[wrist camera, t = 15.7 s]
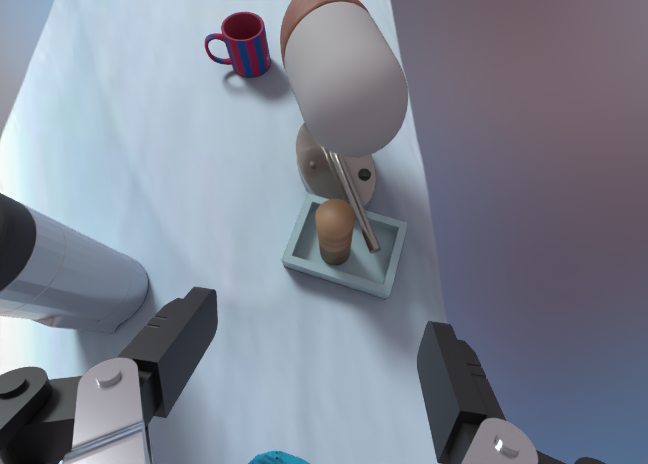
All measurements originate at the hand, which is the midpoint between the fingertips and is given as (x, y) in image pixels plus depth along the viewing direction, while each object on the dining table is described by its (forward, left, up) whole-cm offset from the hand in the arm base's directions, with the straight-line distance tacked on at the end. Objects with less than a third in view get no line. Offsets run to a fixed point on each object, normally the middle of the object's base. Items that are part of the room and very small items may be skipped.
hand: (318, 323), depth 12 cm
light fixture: (+26, +7, -29) cm, 40 cm away
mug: (+40, +28, -29) cm, 56 cm away
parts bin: (+13, +1, -29) cm, 31 cm away
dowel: (+12, +2, -27) cm, 30 cm away
